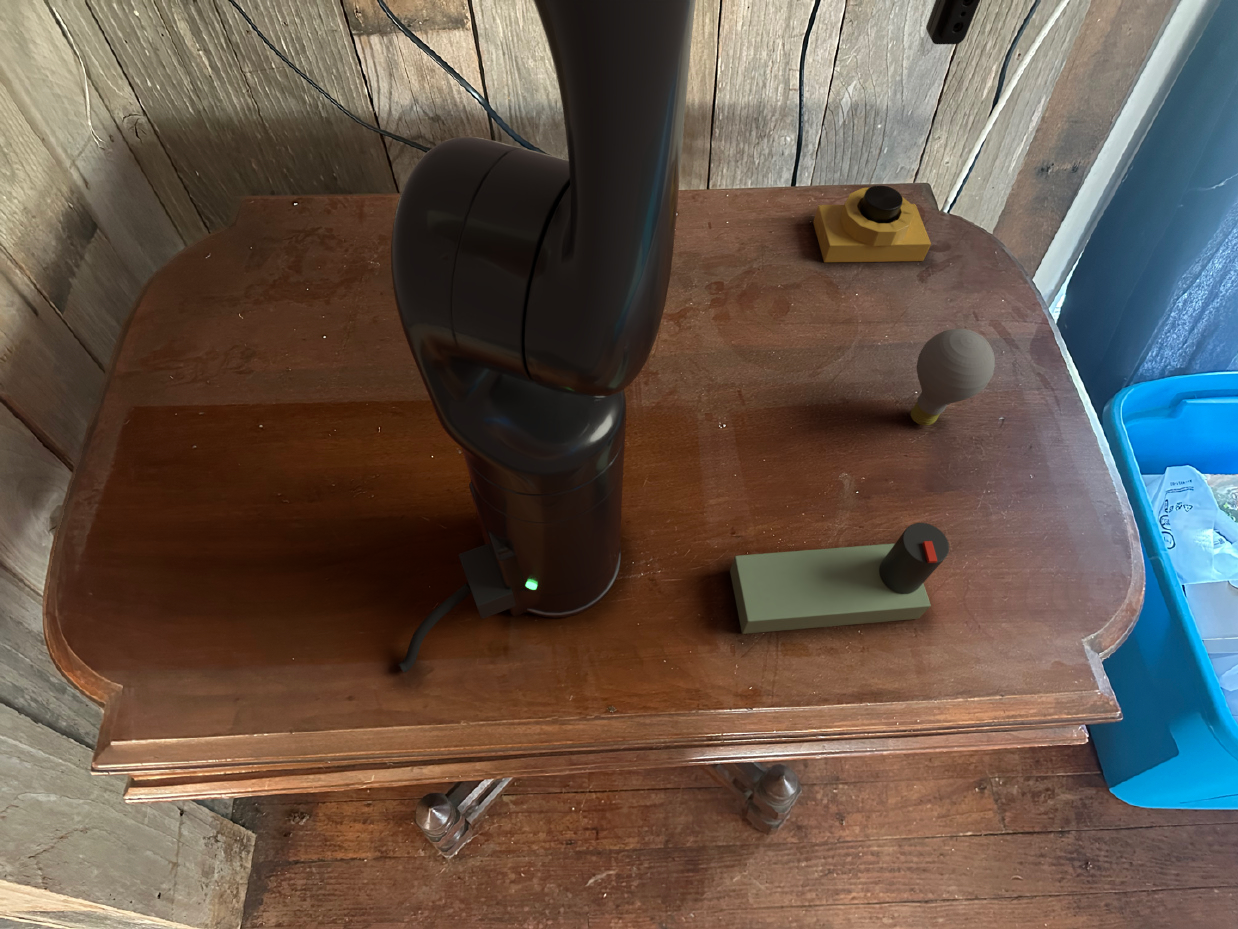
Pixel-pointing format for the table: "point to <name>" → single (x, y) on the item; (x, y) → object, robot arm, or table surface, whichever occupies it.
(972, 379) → the light bulb
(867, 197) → the button
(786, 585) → the dimmer panel
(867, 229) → the switch box
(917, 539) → the dimmer knob
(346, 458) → the table surface
